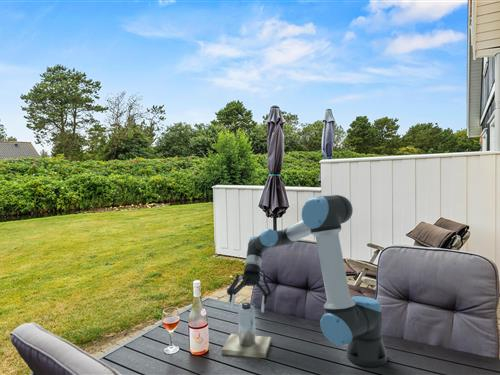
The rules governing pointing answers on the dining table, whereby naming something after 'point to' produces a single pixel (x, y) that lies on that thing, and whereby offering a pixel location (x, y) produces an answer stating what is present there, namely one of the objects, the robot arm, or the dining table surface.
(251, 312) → the steel bottle
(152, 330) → the dining table surface
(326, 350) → the dining table surface
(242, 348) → the birch board
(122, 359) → the dining table surface
